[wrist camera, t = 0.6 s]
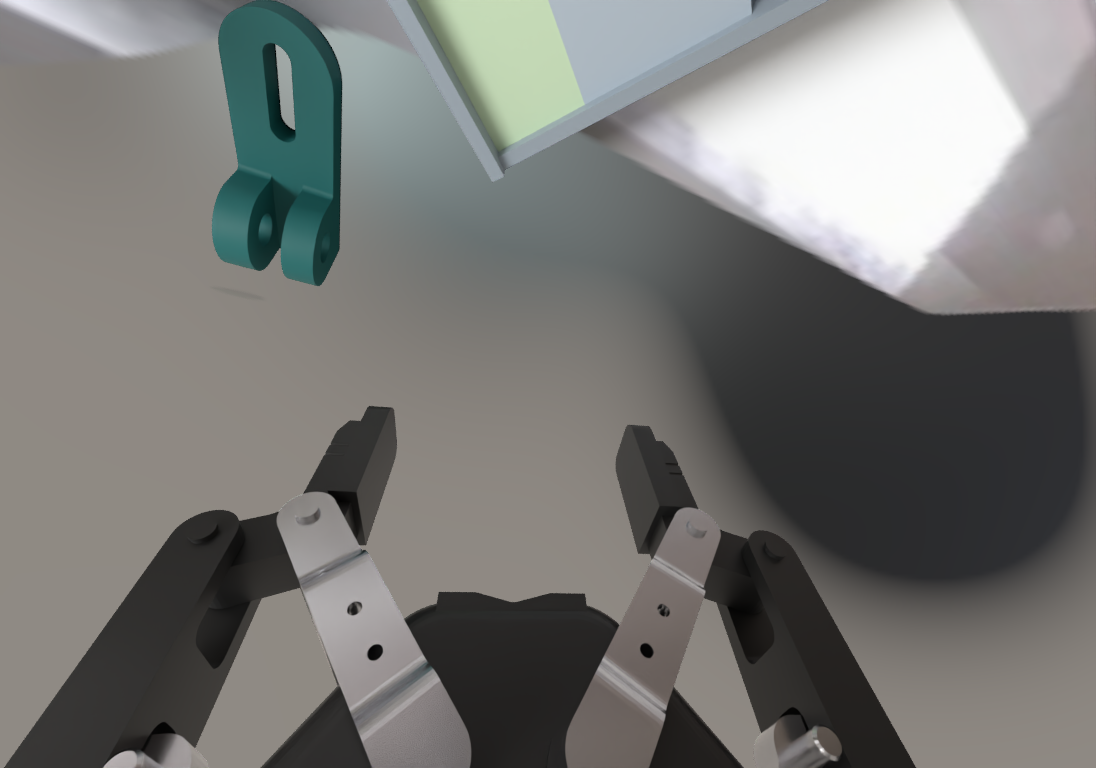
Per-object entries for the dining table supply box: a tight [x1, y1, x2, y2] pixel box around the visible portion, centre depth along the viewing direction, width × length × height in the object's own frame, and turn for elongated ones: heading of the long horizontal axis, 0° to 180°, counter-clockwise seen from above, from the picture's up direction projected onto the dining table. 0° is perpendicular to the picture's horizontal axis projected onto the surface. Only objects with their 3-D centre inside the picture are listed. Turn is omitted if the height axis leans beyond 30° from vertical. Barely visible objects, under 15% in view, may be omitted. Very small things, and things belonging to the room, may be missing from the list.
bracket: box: [212, 0, 342, 286], centre depth 30 cm, size 18×7×8 cm, turn 158°
